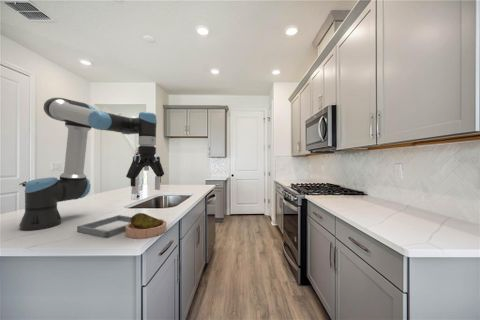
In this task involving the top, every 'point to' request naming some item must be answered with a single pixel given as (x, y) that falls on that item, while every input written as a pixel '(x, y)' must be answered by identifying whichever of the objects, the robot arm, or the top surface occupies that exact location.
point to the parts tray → (91, 229)
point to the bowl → (144, 231)
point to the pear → (144, 221)
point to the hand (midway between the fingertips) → (146, 191)
